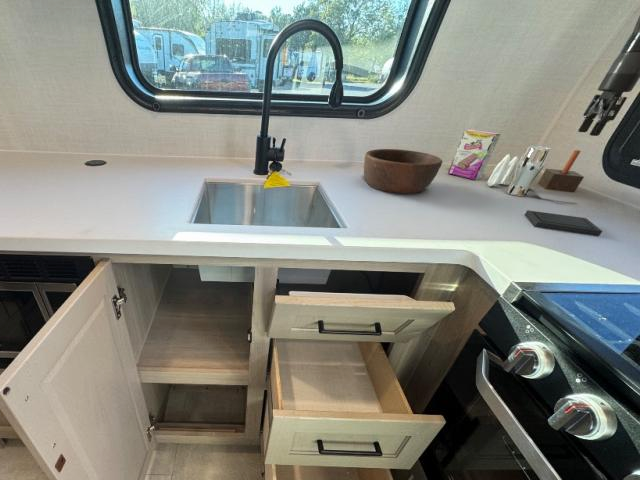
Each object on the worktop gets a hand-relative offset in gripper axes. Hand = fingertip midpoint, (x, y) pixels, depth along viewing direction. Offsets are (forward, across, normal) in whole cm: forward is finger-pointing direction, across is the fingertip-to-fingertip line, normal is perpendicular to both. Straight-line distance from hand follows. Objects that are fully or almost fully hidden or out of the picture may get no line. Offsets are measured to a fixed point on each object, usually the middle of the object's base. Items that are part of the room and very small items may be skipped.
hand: (587, 133), depth 102 cm
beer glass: (+19, -8, +13) cm, 24 cm away
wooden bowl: (+19, -18, +53) cm, 59 cm away
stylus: (+19, 0, 0) cm, 19 cm away
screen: (+19, -37, +9) cm, 42 cm away
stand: (+19, 0, 0) cm, 19 cm away
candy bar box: (+19, +10, +27) cm, 35 cm away
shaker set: (+19, +1, +17) cm, 26 cm away
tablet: (+19, -37, +9) cm, 42 cm away
